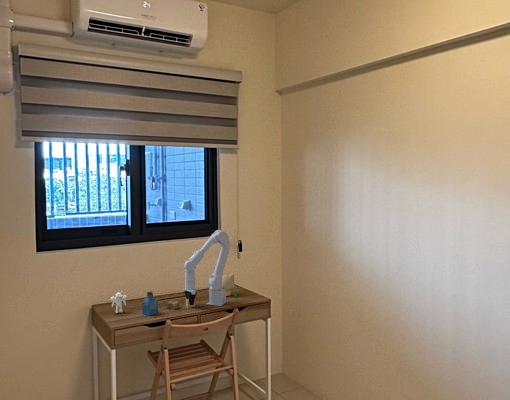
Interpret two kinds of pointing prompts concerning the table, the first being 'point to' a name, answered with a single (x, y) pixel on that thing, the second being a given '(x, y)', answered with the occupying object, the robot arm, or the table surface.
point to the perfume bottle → (149, 305)
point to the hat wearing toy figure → (118, 301)
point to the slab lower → (173, 307)
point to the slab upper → (172, 304)
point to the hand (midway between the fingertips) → (190, 303)
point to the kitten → (228, 284)
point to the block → (189, 304)
